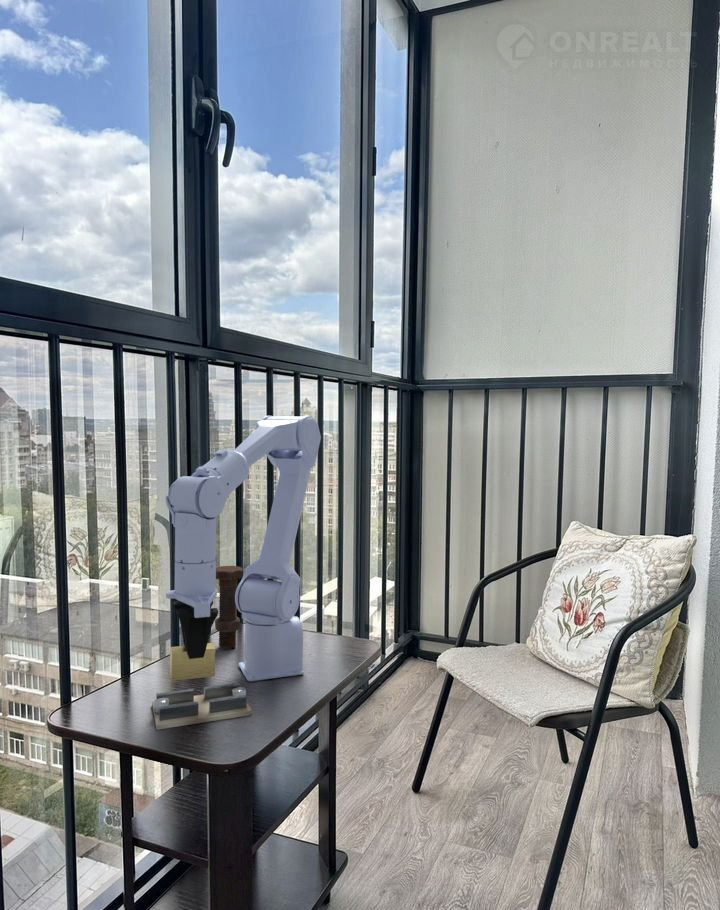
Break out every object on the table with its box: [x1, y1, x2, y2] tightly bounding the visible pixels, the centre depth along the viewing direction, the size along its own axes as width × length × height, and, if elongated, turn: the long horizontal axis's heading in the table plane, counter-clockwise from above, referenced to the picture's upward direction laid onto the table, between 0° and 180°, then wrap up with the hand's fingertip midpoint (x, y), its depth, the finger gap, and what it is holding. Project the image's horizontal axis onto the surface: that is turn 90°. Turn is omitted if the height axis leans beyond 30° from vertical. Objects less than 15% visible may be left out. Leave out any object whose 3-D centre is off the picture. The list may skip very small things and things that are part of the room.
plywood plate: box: [151, 694, 253, 730], centre depth 90 cm, size 13×8×1 cm, turn 112°
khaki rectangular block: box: [169, 642, 216, 682], centre depth 89 cm, size 6×3×4 cm, turn 112°
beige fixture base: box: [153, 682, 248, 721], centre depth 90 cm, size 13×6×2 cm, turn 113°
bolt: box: [214, 565, 244, 651], centre depth 117 cm, size 6×5×15 cm
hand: (194, 653), depth 89 cm, fingers closed on khaki rectangular block, 3 cm apart
